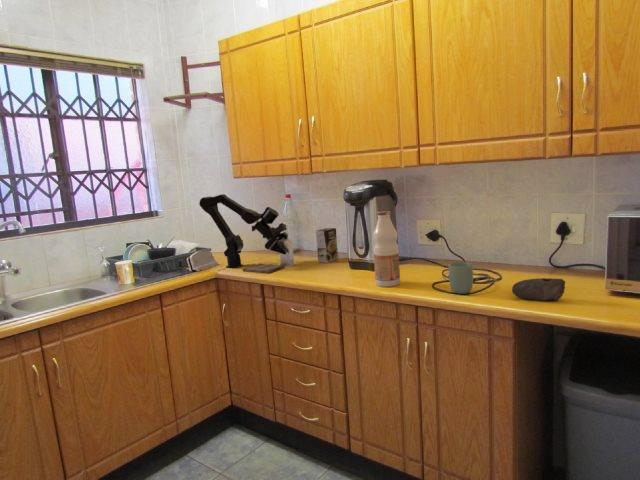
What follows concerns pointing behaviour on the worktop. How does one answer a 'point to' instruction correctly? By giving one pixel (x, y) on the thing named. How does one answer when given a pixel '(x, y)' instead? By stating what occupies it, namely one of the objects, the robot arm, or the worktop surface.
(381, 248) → the fruit juice
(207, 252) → the grey metal block
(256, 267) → the plate
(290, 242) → the aluminium block
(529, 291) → the perforated stone tool
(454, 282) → the cup
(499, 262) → the worktop surface
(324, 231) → the coffee box
